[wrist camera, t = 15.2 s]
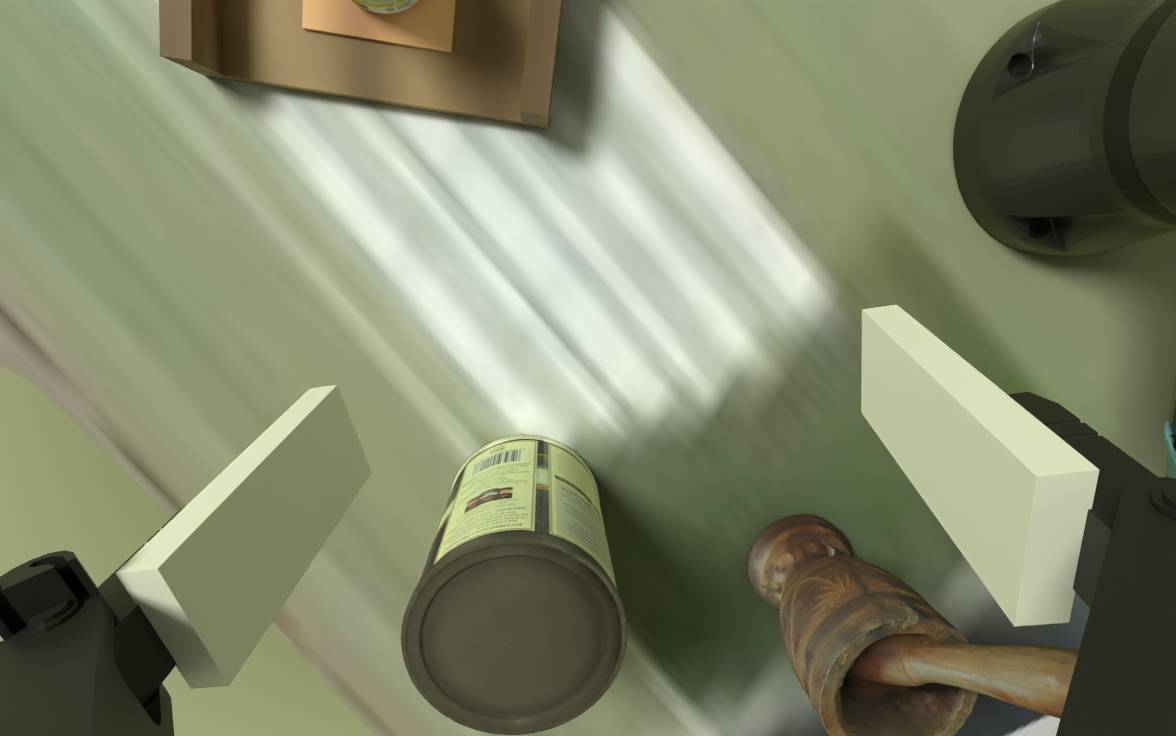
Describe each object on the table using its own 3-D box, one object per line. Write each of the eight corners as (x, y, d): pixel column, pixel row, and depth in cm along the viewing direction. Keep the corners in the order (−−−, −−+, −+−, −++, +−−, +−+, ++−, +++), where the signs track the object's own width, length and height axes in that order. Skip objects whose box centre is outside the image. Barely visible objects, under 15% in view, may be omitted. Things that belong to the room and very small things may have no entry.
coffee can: (526, 600, 43) (516, 774, 29) (417, 505, 41) (351, 646, 27) (632, 504, 42) (673, 638, 28) (526, 402, 40) (514, 493, 26)
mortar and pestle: (779, 450, 42) (982, 645, 22) (891, 480, 43) (1179, 691, 23) (724, 596, 44) (864, 889, 24) (832, 621, 45) (1049, 921, 25)
